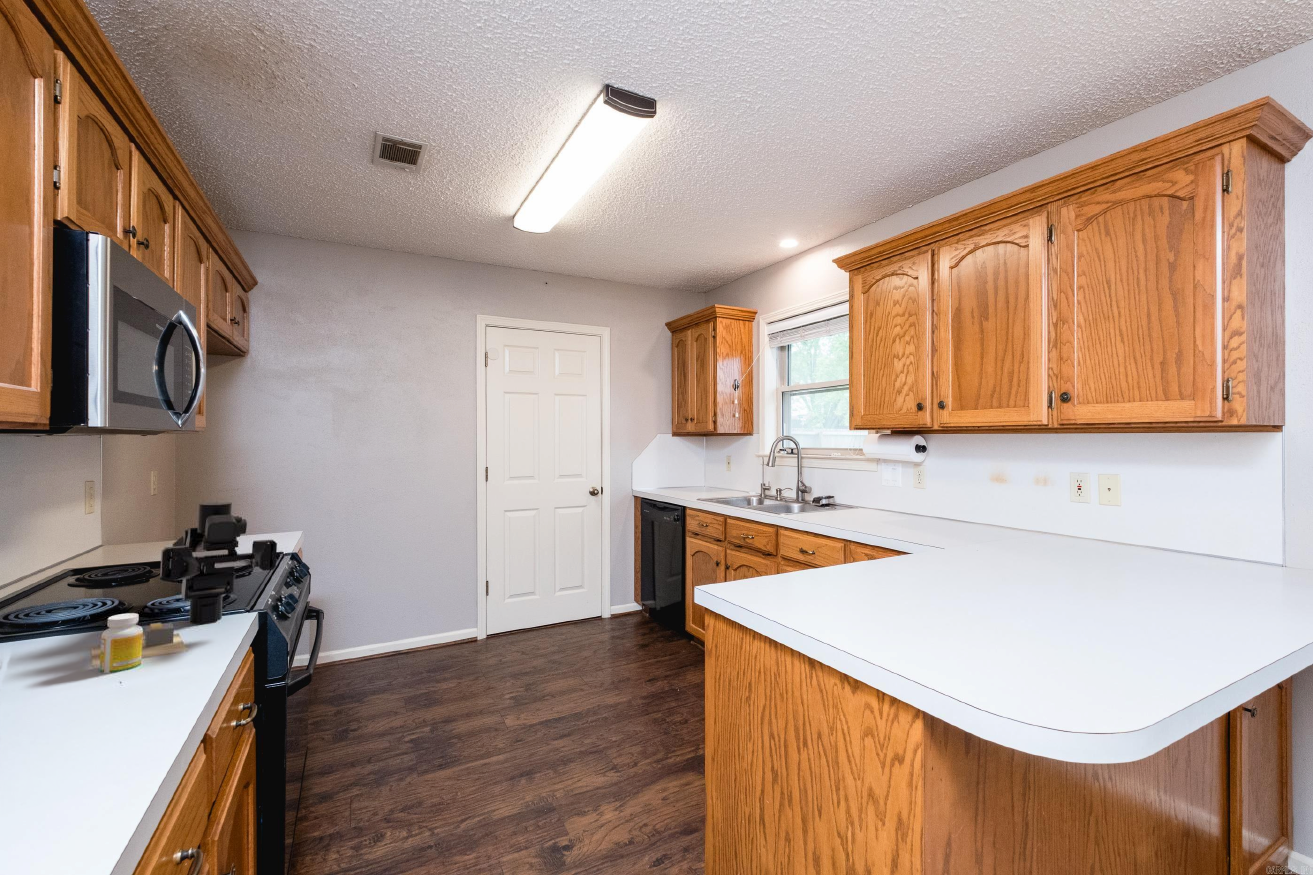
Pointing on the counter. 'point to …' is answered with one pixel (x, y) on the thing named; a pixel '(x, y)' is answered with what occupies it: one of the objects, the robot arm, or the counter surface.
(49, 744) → the counter surface
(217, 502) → the robot arm
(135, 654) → the supplement bottle
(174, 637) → the plywood panel
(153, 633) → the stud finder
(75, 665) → the counter surface
